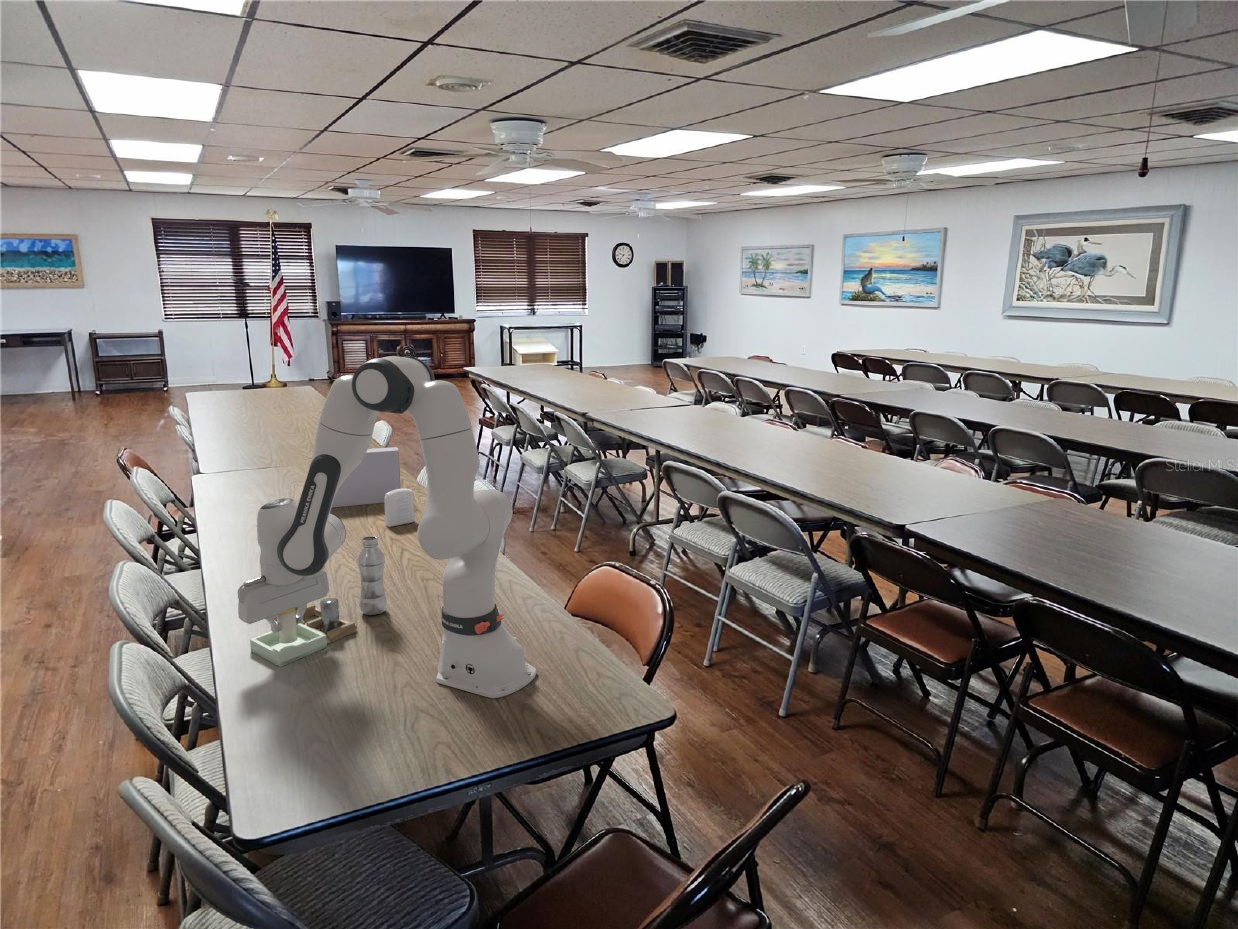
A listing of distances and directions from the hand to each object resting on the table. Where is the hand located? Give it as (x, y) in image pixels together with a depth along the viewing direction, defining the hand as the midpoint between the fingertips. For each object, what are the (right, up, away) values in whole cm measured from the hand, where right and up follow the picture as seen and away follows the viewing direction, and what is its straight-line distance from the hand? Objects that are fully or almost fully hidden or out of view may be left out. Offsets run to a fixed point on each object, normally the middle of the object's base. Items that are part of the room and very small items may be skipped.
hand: (287, 627), depth 172 cm
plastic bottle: (+13, -1, +21) cm, 25 cm away
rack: (0, -2, +15) cm, 15 cm away
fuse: (0, -3, +1) cm, 3 cm away
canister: (+6, -3, +10) cm, 12 cm away
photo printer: (0, +16, +89) cm, 91 cm away
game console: (-21, +22, +111) cm, 115 cm away
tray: (0, -5, +1) cm, 6 cm away
